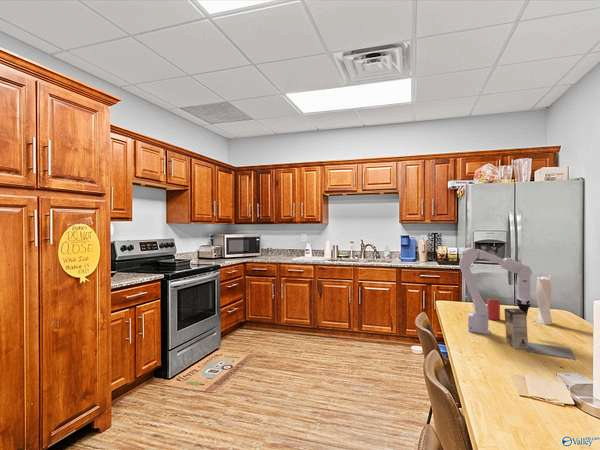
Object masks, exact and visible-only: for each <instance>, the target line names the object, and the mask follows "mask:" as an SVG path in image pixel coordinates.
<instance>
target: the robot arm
mask: <svg viewBox="0 0 600 450" xmlns="http://www.w3.org/2000/svg"><path fill="white" fill-rule="evenodd" d="M477 259H478V260H482V259H484V260H487V261H491V262H493V263H496V264H498V265H500V267H501V269H503V270H507V271H508V272H511V273H514V274H517V275H516V276H517V277H516V296H515V297H516V301H517V302H516V305H517V306H518V308H519V309H520V310H522V311H523V312H525V313H526V317H527V316H528V313H529V312H528V311H529V309H530V307H531V304H530V302H531V301H534V297H531V283H532V282H531V276H532V274H533V271H532V268H531V267H530V266H528V265H526V264H524V263H523V262H522V261H516V260H513V258H512V257H504V258H502V257H499V256H497V255H494V254H492V253H490V252H489V251H488V252H487V251H485V250H483V249H482V250H481V249H478V248H476V249H475V248H474V247H471V246H470V247H466V248H465V249H464V250H463V252H462V253H461V257H460V260H459V263H458V265H459V269H460V271H461V273H462V277H463V279H464V282H465V284H466V287H467V289H468V292H469V295H470V297H471V300H472V302H473V303H472V307H473V309H474V310H473V312H472V313H471V312H469V313H468V315H467V317H468V318H467V320H468V321H467V322H468V324H467V329H468V330H467V331H468V332H470V333H475V334H476V333H478V334H484V335H489V334H490V329H489V319H488V314H487V313H488V307H487V303H486V302H485V301H484V300H483V298H482V296H481V293H480V291H479V288H478V286H477V283H476V280H475V279H474V276H473V273H472V270H471V265H472V263H473V262H474V261H476V260H477ZM527 318H528V317H527Z"/></svg>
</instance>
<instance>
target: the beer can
mask: <svg viewBox="0 0 600 450" xmlns="http://www.w3.org/2000/svg"><path fill="white" fill-rule="evenodd" d="M486 301H487V303H486V306H487V307H488V313H487V314H488V320H492V321H500V320H501V303H500V298H497V297H488V298H487V300H486Z"/></svg>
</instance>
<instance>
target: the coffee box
mask: <svg viewBox="0 0 600 450" xmlns="http://www.w3.org/2000/svg"><path fill="white" fill-rule="evenodd" d="M527 318H528V317H526V313H525V312H523V311H522V310H520V309H519V307H518V308H504V323H505V325H504V327H505V338H506V339H505V340H506V343H508V345H510V347H511V348H513V349H526V350H527V349H528V342H529V341H528V339H529V338H528V321H527Z"/></svg>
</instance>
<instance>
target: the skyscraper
mask: <svg viewBox="0 0 600 450" xmlns="http://www.w3.org/2000/svg"><path fill="white" fill-rule="evenodd" d="M535 286H536V287H535V296H536V303H537V307H538V308H537V314H536V320H533V322H534V323H538V324H540V323H541V325H545V326H548V325H555V323H553V321H552V314H551V309H550V307H551V304H552V299H553V285H552V275H551V274H549V275H548V277H547V276H541V277H539V276H537V279H536V285H535Z"/></svg>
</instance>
